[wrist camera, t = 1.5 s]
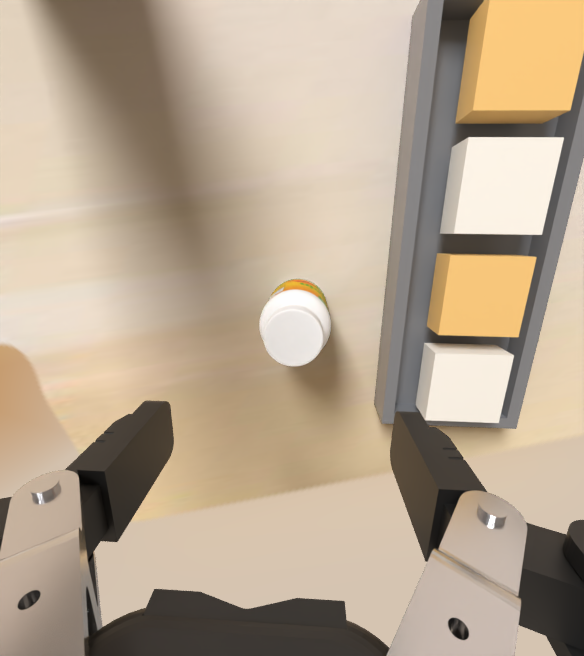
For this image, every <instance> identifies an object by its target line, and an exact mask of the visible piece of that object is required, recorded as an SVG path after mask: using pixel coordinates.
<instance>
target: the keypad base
mask: <svg viewBox="0 0 584 656" xmlns="http://www.w3.org/2000/svg"><path fill="white" fill-rule="evenodd" d="M483 1H484V0H420V2H419V4H418V6H417V8H416V10H415V13H414V15H413V17H412V26H411V36H410V47H409V57H408V67H407V77H406V87H405V97H404V107H403V117H402V127H401V137H400V148H399V158H398V168H397V178H396V188H395V198H394V208H393V218H392V228H391V238H390V249H389V259H388V269H387V279H386V289H385V299H384V309H383V319H382V329H381V339H380V350H379V360H378V370H377V380H376V390H375V400H374V405H375V407H376V410H377V412H378V415H379V418H380V420H381V423H384V424H393V423H394V416H395V413H396V412H397V411H405V412H419V413H420V411H419V410H418V408H417V406H416V398H417V391H418V384H419V377H420V370H421V363H422V356H423V349H424V343H448V344H483V345H497V346H499V347H500V348H502V349H504V350H505V351H507V352H509V353H511V354H512V355H514V359H513V363H512V367H511V372H510V376H509V380H508V385H507V389H506V393H505V398H504V402H503V406H502V411H501V415H500V420H499V423H483V422H457V421H431V420H425V419H424V420H425V421H426V423H427V425H435V426H461V427H487V428H512V429H516V427H517V423H518V419H519V415H520V411H521V407H522V403H523V399H524V395H525V391H526V387H527V383H528V379H529V375H530V371H531V367H532V363H533V359H534V355H535V351H536V347H537V343H538V339H539V335H540V331H541V327H542V323H543V319H544V315H545V311H546V306H547V302H548V298H549V294H550V290H551V286H552V282H553V278H554V274H555V270H556V266H557V262H558V258H559V254H560V250H561V246H562V242H563V238H564V234H565V230H566V226H567V222H568V218H569V214H570V210H571V206H572V202H573V198H574V194H575V190H576V186H577V182H578V178H579V174H580V170H581V166H582V162H583V158H584V53H583V58H582V62H581V66H580V71H579V75H578V80H577V84H576V88H575V93H574V97H573V101H572V106H571V110H570V111H568V112H566V113H564V114H562V115H560V116H557V117H555V118H553V119H551V120H549V121H547V122H545V123H542V124H455V122H456V115H457V107H458V100H459V93H460V86H461V79H462V72H463V65H464V58H465V51H466V44H467V37H468V29H469V22H470V19H471V17H472V16H473V15H474V13H475V12H476V11H477V9H478V8H479V7H480V5H481V4H482V3H483ZM468 137H564V141H563V145H562V149H561V154H560V158H559V162H558V167H557V171H556V175H555V180H554V184H553V189H552V193H551V197H550V202H549V206H548V210H547V215H546V219H545V223H544V228H543V232H542V235H502V234H440V228H441V221H442V214H443V207H444V200H445V193H446V185H447V178H448V171H449V164H450V157H451V150H452V147H453V146H455V145H456V144H458V143H460V142H461V141H463V140H465V139H466V138H468ZM437 253H446V254H504V255H523V256H533V257H537V258H536V263H535V267H534V271H533V276H532V280H531V284H530V289H529V293H528V297H527V302H526V306H525V311H524V315H523V319H522V324H521V328H520V332H519V337H489V336H453V335H438V334H436V333H435V332H434V331H432V330H431V329H430V328H429V327H427V320H428V313H429V306H430V299H431V292H432V285H433V278H434V271H435V263H436V256H437ZM420 414H421V413H420ZM421 415H422V414H421ZM422 417H423V416H422ZM423 418H424V417H423Z"/></svg>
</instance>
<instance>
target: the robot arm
mask: <svg viewBox="0 0 584 656" xmlns="http://www.w3.org/2000/svg"><path fill="white" fill-rule="evenodd" d="M173 444H174V437H173V427H172V418H171V408H170V404H169V403H168V402H167V401H145V402H143V403H142V404H141V405H140V406H139V407H138V408H137V409H136V411H135V412H134V413H133V414H128V415H126V416H124V417H123V418H121V419H119V420H117V421H115V422H114V423H113V424H112V425H111V426H110V427H109V428H108V429H107V430H106V431H105V432H104V434H102V435H100V436H99V437H98V438H97V439H96V442H93V443H92V444H91V445H90V446H89V447H88V448H87V449H86V450H85V451H84V452H83V453H82V454H81V455H80V456H79V457H78V458H77V459H76V460H75V461H74V462H73V463H72V464H71V465H69V467H67V468H66V469H65V470H60V471H54V472H50V473H46V474H44V475H41V476H39V477H37V478H35V479H33V480H31V481H29V482H28V483H26V484H25V485H23V486H22V487H21V488H20V489H19V490H18V491H16V493H15V494H14V495H13V496H12V497H8V498H2V499H0V656H514V655H515V648H516V640H517V632H518V625H520V626H523V627H525V628H528V629H530V630H533V631H535V632H538V633H540V634H543V635H546V636H547V639H548V641H549V642H550V644H551V646H552V648H553V650H554V651H555V653H556V655H557V656H584V520H578V521H574V522H572V523H571V524H570V526H569V529H568V532H567V535H566V534H562V533H559V532H555V531H552V530H549V529H545V528H542V527H538V526H535V525H532V524H529V523H526V521H525V519H524V517H523V516H522V515H521V513H520V512H519V511H518V510H517V509H516V508H515V507H514V506H512V505H511V504H510V503H509V502H507V501H505V500H504V499H502V498H500V497H498V496H496V495H494V494H491V493H488V492H487V491H486V489H485V488H484V487H483V485H482V484H481V482H480V481H479V479H478V478H477V477H476V475H475V474H474V472H473V471H472V469H471V468H470V467H469V465H468V464H467V462H466V461H465V460H463V457H462V455H461V454H460V452H459V451H458V450H457V448H456V447H455V445H454V444H453V442H452V441H451V439H450V438H449V437H448V436H447V435H445V434H444V433H443V432H441V431H440V430H439V429H437V428H436V427H429V426H428V425H427V423H426V421H425V420H424V418H423V417H422V415H421V414H420V413H419V412H405V411H397V412H396V413H395V416H394V423H393V431H392V440H391V448H390V460H391V466H392V470H393V472H394V475H395V478H396V481H397V483H398V486H399V489H400V492H401V494H402V497H403V500H404V503H405V505H406V508H407V511H408V514H409V517H410V519H411V522H412V525H413V528H414V531H415V533H416V536H417V539H418V542H419V544H420V547H421V550H422V553H423V555H424V558H425V561H427V564H426V567H425V569H424V571H423V573H422V576H421V578H420V580H419V582H418V585H417V587H416V589H415V592H414V594H413V596H412V599H411V601H410V603H409V605H408V608H407V610H406V612H405V615H404V617H403V619H402V621H401V624H400V626H399V628H398V631H397V633H396V635H395V637H394V640H393V642H392V644H391V647H390V648H389V647H388V646H387V645H385V644H384V643H383V642H382V641H381V640H380V639H379V638H377V637H376V636H374V635H373V634H372V633H370V632H369V631H367V630H366V629H364V628H362V627H360V626H358V625H356V624H354V623H352V622H349V621H347V620H346V612H345V602H344V601H332V600H317V599H302V598H296V599H292V600H287V601H282V602H278V603H274V604H270V605H265V606H260V607H256V608H251V609H243V608H240V607H237V606H235V605H232V604H229V603H227V602H224V601H222V600H220V599H217V598H215V597H212V596H209V595H207V594H204V593H202V592H193V591H178V590H162V589H154V591H153V593H152V596H151V598H150V600H149V603H148V605H147V607H146V608H144V609H140V610H137V611H134V612H131V613H128V614H126V615H124V616H122V617H120V618H118V619H116V620H114V621H112V622H111V623H109V624H107V625H106V626H104V627H102V620H101V609H100V599H99V589H98V579H97V568H96V558H95V553H94V550H95V548H96V547H97V546H98V544H99V543H100V541H109V542H117V541H118V540H119V538H120V537H121V535H122V533H123V532H124V530H125V529H126V527H127V526H128V524H129V522H130V521H131V519H132V518H133V516H134V514H135V513H136V511H137V510H138V508H139V506H140V505H141V503H142V501H143V500H144V498H145V497H146V495H147V493H148V492H149V490H150V489H151V487H152V485H153V484H154V482H155V481H156V479H157V477H158V476H159V474H160V472H161V471H162V469H163V468H164V466H165V464H166V463H167V461H168V460H169V458H170V456H171V453H172V450H173Z"/></svg>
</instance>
